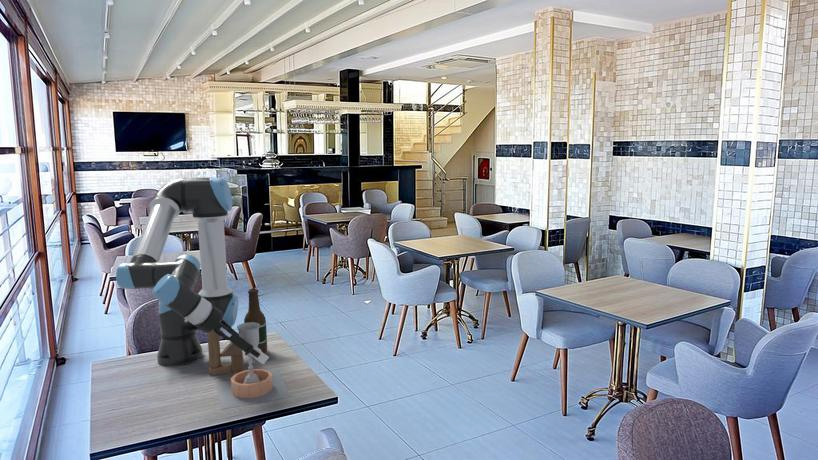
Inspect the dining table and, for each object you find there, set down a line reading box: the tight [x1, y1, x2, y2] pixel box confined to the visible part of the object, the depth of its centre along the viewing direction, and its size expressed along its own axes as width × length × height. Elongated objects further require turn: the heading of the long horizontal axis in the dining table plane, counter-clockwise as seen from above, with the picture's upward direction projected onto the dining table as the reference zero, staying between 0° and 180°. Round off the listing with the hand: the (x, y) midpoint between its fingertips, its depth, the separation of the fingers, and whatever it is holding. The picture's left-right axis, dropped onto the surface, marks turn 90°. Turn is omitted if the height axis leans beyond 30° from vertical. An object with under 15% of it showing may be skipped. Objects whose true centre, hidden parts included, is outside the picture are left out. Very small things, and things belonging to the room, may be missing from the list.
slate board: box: [215, 371, 292, 410], centre depth 172 cm, size 20×20×2 cm
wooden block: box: [206, 329, 245, 376], centre depth 185 cm, size 4×11×18 cm, turn 104°
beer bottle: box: [243, 288, 268, 355], centre depth 204 cm, size 8×8×24 cm
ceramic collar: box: [230, 368, 273, 398], centre depth 171 cm, size 12×12×4 cm
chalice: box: [236, 322, 260, 384], centre depth 170 cm, size 7×7×18 cm
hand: (262, 357), depth 172 cm, fingers closed on chalice, 6 cm apart
